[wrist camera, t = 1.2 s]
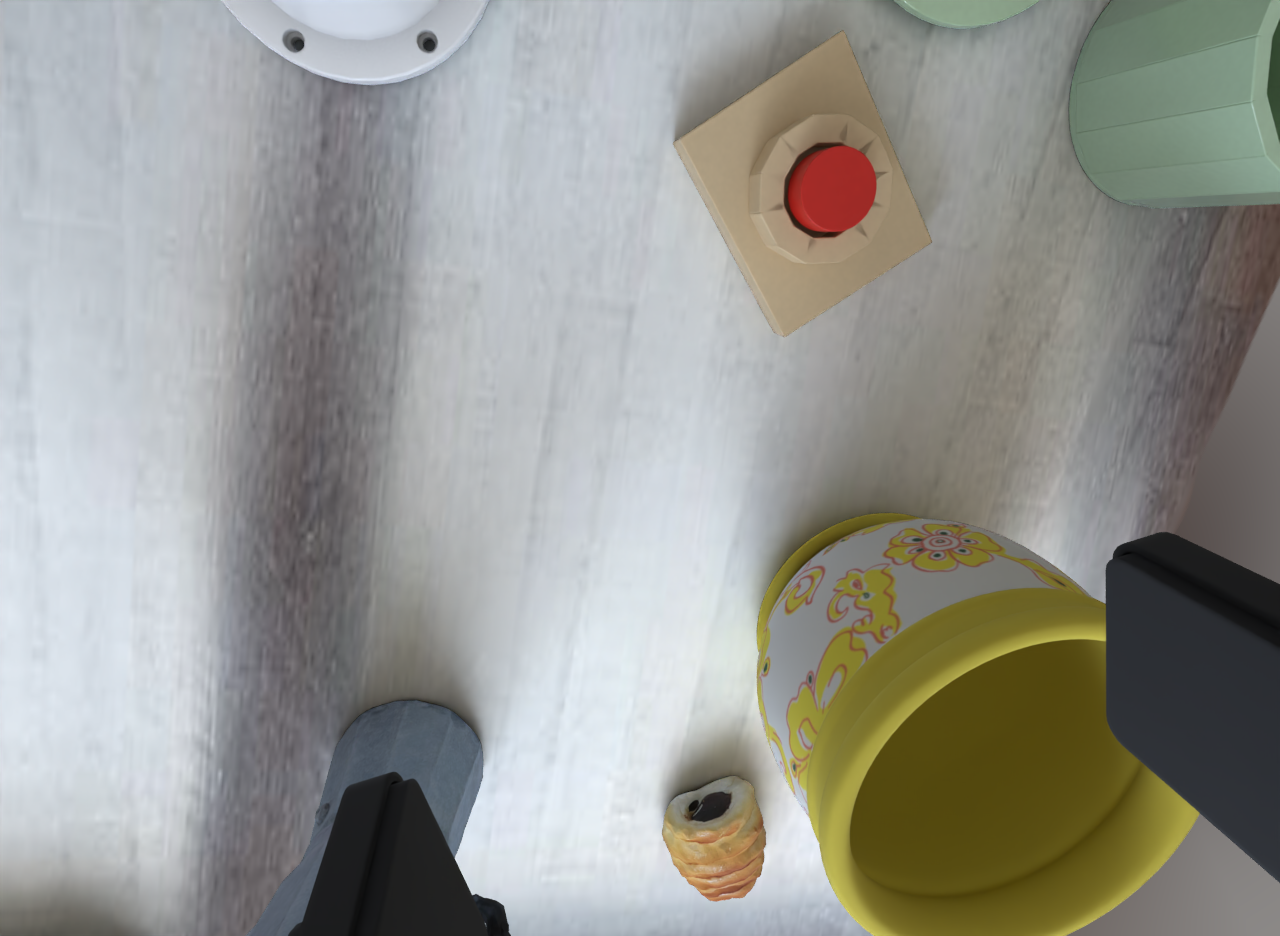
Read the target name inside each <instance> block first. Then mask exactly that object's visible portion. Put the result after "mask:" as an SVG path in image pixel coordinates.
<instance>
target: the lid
mask: <svg viewBox="0 0 1280 936" xmlns="http://www.w3.org/2000/svg"><path fill="white" fill-rule="evenodd" d="M893 1H894V2H896V3H897V4H898V5H899V6H901V7H902V8H903V9H904V10H906V11H907V12H909V13H910V14H912V15H914V16H916V17H917V18H919V19H921V20H923V21H926V22H929V23H931V24H934V25H937V26H942V27H947V28H955V29H971V28H979V27H985V26H988V25H992V24H995V23H999V22H1001V21H1004V20H1006V19H1008V18H1010V17H1012V16H1015V15H1017V14H1019V13H1021V12H1023V11H1024V10H1026V9H1028V8H1029V7H1031V6H1032V5H1034V4H1036V3H1037V2H1038V1H1039V0H893Z"/></svg>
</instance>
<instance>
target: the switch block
mask: <svg viewBox="0 0 1280 936" xmlns="http://www.w3.org/2000/svg"><path fill="white" fill-rule="evenodd" d="M673 145H674V147H675V149H676V150H677V152H678V154H679V156H680V158H681V160H682V162H683V163H684V165H685V167H686V169H687V171H688V173H689V175H690V177H691V178H692V180H693V182H694V184H695V186H696V188H697V190H698V192H699V193H700V195H701V197H702V199H703V201H704V203H705V205H706V207H707V208H708V210H709V212H710V214H711V216H712V218H713V220H714V222H715V223H716V225H717V227H718V229H719V231H720V233H721V235H722V237H723V238H724V240H725V242H726V244H727V246H728V248H729V250H730V252H731V253H732V255H733V257H734V259H735V261H736V263H737V265H738V267H739V268H740V270H741V272H742V274H743V276H744V278H745V280H746V282H747V283H748V285H749V287H750V289H751V291H752V293H753V295H754V296H755V298H756V300H757V302H758V304H759V306H760V308H761V310H762V311H763V313H764V315H765V317H766V319H767V321H768V323H769V325H770V326H771V328H772V330H773V332H774V333H776V334H778V335H781V336H783V337H786V336H787V335H789V334H790V333H792V332H794V331H795V330H797V329H798V328H800V327H801V326H803V325H804V324H806V323H808V322H809V321H811V320H812V319H814V318H815V317H817V316H818V315H820V314H822V313H823V312H825V311H826V310H828V309H829V308H831V307H832V306H834V305H836V304H837V303H839V302H840V301H842V300H843V299H845V298H846V297H848V296H850V295H851V294H853V293H854V292H856V291H857V290H859V289H860V288H862V287H864V286H865V285H867V284H868V283H870V282H871V281H873V280H874V279H876V278H878V277H879V276H881V275H882V274H884V273H885V272H887V271H888V270H890V269H891V268H893V267H895V266H896V265H898V264H899V263H901V262H902V261H904V260H905V259H907V258H909V257H910V256H912V255H913V254H915V253H916V252H918V251H919V250H921V249H923V248H924V247H926V246H927V245H929V244H930V243H932V240H931V238H930V235H929V233H928V231H927V228H926V226H925V223H924V221H923V219H922V216H921V214H920V211H919V209H918V207H917V204H916V202H915V199H914V197H913V195H912V192H911V190H910V187H909V185H908V183H907V180H906V178H905V176H904V173H903V171H902V168H901V166H900V164H899V161H898V159H897V156H896V154H895V152H894V149H893V147H892V144H891V142H890V140H889V137H888V135H887V132H886V130H885V128H884V125H883V123H882V121H881V118H880V116H879V113H878V111H877V109H876V106H875V104H874V101H873V99H872V97H871V94H870V92H869V89H868V87H867V85H866V82H865V80H864V77H863V75H862V73H861V70H860V68H859V66H858V63H857V61H856V58H855V56H854V54H853V51H852V49H851V46H850V44H849V42H848V39H847V37H846V34H845V32H844V30H842V31H840V32H839V33H837V34H836V35H834V36H832V37H831V38H829V39H828V40H826V41H825V42H823V43H822V44H820V45H819V46H817V47H816V48H814V49H813V50H811V51H810V52H808V53H807V54H805V55H804V56H802V57H801V58H799V59H798V60H796V61H795V62H793V63H792V64H790V65H789V66H787V67H786V68H784V69H783V70H781V71H780V72H778V73H777V74H775V75H774V76H772V77H771V78H769V79H768V80H766V81H765V82H763V83H762V84H760V85H759V86H757V87H756V88H754V89H753V90H751V91H750V92H748V93H747V94H745V95H744V96H742V97H741V98H739V99H738V100H736V101H735V102H733V103H732V104H730V105H729V106H727V107H726V108H724V109H723V110H721V111H720V112H718V113H717V114H715V115H714V116H712V117H711V118H709V119H708V120H706V121H705V122H703V123H702V124H700V125H698V126H697V127H695V128H694V129H692V130H691V131H689V132H688V133H686V134H685V135H683V136H682V137H680V138H679V139H677V140H676V141H674V142H673ZM835 146H849V147H852V148H855V149H857V150H859V151H860V152H862V153H863V154H864V155H865V156H866V157H867V158H868V159H869V161H870V162H871V164H872V166H873V168H874V171H875V175H876V182H877V189H876V195H875V199H874V202H873V205H872V207H871V209H870V210H869V212H868V213H867V215H866V216H865V217H864V219H863V220H861V221H860V222H859V223H858V224H857V225H855V226H854V227H852V228H850V229H847V230H844V231H838V232H817V231H813V230H810V229H807V228H806V227H804V226H803V225H801V224H800V223H799V222H798V221H797V220H796V218H795V217H794V216H793V214H792V212H791V209H790V206H789V202H788V186H789V181H790V178H791V176H792V173H793V171H794V170H795V168H796V167H797V165H798V164H799V163H800V162H801V161H802V160H803V159H804V158H805V157H807V156H808V155H810V154H812V153H814V152H816V151H820V150H823V149H827V148H830V147H835Z"/></svg>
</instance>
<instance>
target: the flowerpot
mask: <svg viewBox="0 0 1280 936" xmlns="http://www.w3.org/2000/svg"><path fill="white" fill-rule="evenodd" d="M757 646H758V652H759V656H758V664H757V694H758V703H759V709H760V714H761V719H762V723H763V727H764V730H765V733H766V736H767V739H768V742H769V745H770V748H771V750H772V752H773V755H774V757H775V759H776V762H777V764H778V766H779V768H780V770H781V772H782V774H783V776H784V778H785V780H786V782H787V784H788V785H789V787H790V789H791V791H792V792H793V794H794V796H795V797H796V799H797V801H798V802H799V804H800V805H801V807H802V808H803V810H804V811H805V812H806V814H807V815H808V817H809V818H810V821H811V824H812V827H813V830H814V833H815V835H816V837H817V840H818V842H819V845H820V851H821V857H822V862H823V865H824V868H825V872H826V875H827V877H828V880H829V882H830V884H831V886H832V889H833V890H834V892H835V894H836V896H837V897H838V899H839V901H840V902H841V904H842V905H843V906H844V908H845V909H846V910H847V912H848V913H849V914H850V915H851V916H852V917H853V918H854V919H855V921H856V922H858V923H859V924H860V925H861V926H862V927H863V928H864V929H865V930H867V931H868V932H870V933H871V934H872V935H874V936H1065V935H1068V934H1070V933H1072V932H1074V931H1076V930H1078V929H1080V928H1082V927H1084V926H1085V925H1087V924H1089V923H1091V922H1092V921H1094V920H1096V919H1098V918H1099V917H1101V916H1102V915H1104V914H1105V913H1107V912H1108V911H1110V910H1111V909H1113V908H1114V907H1116V906H1117V905H1119V904H1120V903H1121V902H1123V901H1124V900H1125V899H1126V898H1128V897H1129V896H1130V895H1131V894H1133V893H1134V892H1135V891H1136V890H1137V889H1139V888H1140V887H1141V886H1142V885H1143V884H1144V883H1145V882H1147V881H1148V880H1149V879H1150V878H1151V877H1152V876H1153V875H1154V874H1155V873H1156V872H1157V871H1158V870H1159V869H1160V868H1161V867H1162V865H1163V864H1164V863H1165V862H1166V861H1167V860H1168V859H1169V858H1170V856H1171V855H1172V854H1173V853H1174V852H1175V850H1176V849H1177V848H1178V846H1179V845H1180V844H1181V842H1182V841H1183V840H1184V838H1185V837H1186V835H1187V834H1188V832H1189V831H1190V829H1191V828H1192V826H1193V824H1194V823H1195V821H1196V819H1197V817H1198V815H1199V814H1200V813H1199V812H1198V811H1197V810H1196V809H1195V808H1193V807H1192V806H1191V805H1190V804H1189V803H1188V802H1186V801H1185V800H1184V799H1183V798H1182V797H1181V796H1180V795H1178V794H1177V793H1176V792H1175V791H1174V790H1173V789H1172V788H1170V787H1169V786H1168V785H1167V784H1166V783H1165V782H1164V781H1162V780H1161V779H1160V778H1159V777H1158V776H1157V775H1156V774H1154V773H1153V772H1152V771H1151V770H1150V769H1149V768H1147V767H1146V766H1145V765H1144V764H1143V763H1142V762H1141V761H1139V760H1138V759H1137V758H1136V757H1135V756H1134V755H1133V754H1131V753H1130V752H1129V751H1128V750H1127V749H1126V748H1125V747H1123V746H1122V745H1121V744H1120V743H1119V741H1118V740H1117V739H1116V738H1115V736H1114V735H1113V733H1112V731H1111V729H1110V728H1109V725H1108V722H1107V717H1106V604H1105V603H1103V602H1101V601H1098V600H1096V599H1094V598H1093V597H1091V596H1090V595H1089V594H1088V593H1087V592H1086V591H1085V590H1084V589H1083V588H1082V587H1081V586H1079V585H1078V584H1077V583H1076V582H1075V581H1073V580H1072V579H1071V578H1070V577H1068V576H1067V575H1066V574H1064V573H1063V572H1062V571H1061V570H1059V569H1058V568H1057V567H1055V566H1054V565H1052V564H1051V563H1049V562H1048V561H1046V560H1045V559H1043V558H1042V557H1040V556H1038V555H1037V554H1035V553H1034V552H1032V551H1030V550H1029V549H1027V548H1025V547H1024V546H1022V545H1020V544H1018V543H1016V542H1014V541H1012V540H1010V539H1008V538H1006V537H1003V536H1001V535H999V534H996V533H993V532H991V531H988V530H985V529H982V528H979V527H975V526H971V525H968V524H963V523H958V522H953V521H945V520H935V519H921V518H918V517H915V516H911V515H906V514H898V513H876V514H869V515H863V516H859V517H855V518H852V519H848V520H846V521H843V522H840V523H838V524H836V525H833V526H831V527H829V528H827V529H826V530H824V531H822V532H820V533H819V534H817V535H815V536H814V537H813V538H811V539H810V540H808V541H807V542H806V543H805V544H803V545H802V546H801V547H800V548H799V549H798V550H796V551H795V552H794V553H793V554H792V555H791V556H790V558H789V559H788V560H787V561H786V562H785V563H784V564H783V566H782V567H781V568H780V570H779V571H778V572H777V574H776V575H775V577H774V579H773V580H772V582H771V584H770V586H769V588H768V590H767V592H766V594H765V596H764V599H763V602H762V605H761V608H760V612H759V616H758V623H757Z"/></svg>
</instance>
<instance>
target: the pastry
mask: <svg viewBox="0 0 1280 936" xmlns="http://www.w3.org/2000/svg"><path fill="white" fill-rule="evenodd" d="M765 835H766V832H765V829H764V826H763V818H762V814H761V812H760V809H759V807H758V805H757V802H756V800H755V796H754V787H753V786H752V785H751V784H750V783H749V782H747V781H745V780H742V779H741V778H739V777H737V776H728V777H725V778H722V779H719V780H716V781H714V782H712V783H710V784H708V785H706V786H704V787H702V788H700V789H698V790H696V791H691V792H687V793H684V794H680V795H678V796H677V797H675V798H674V799H673V800H672V802H671V803H670V804H669V806H668V808H667V810H666V813H665V816H664V823H663V830H662V836H663V839H664V841H665V843H666V845H667V848H668V850H669V852H670V854H671V857H672V861H673V864H674V865H675V866H676V867H677V868H678V870H679V872H680V874H681V875H682V876H683V877H685V878H686V879H687V881H688V883H689V884H690V885H693V886H695V888H696V889H697V890H698V891H699V892H700V893H701V894H702V895H703V896H705V897H706V898H707V899H709V900H710V901H720V900H728V899H731V898H743V897H745V895H746V894H747V893H748V892H749V891H750V890H751V889H752V888H753V886H754V884H755V882H756V879H757V878H758V877H760V875H761V871H762V864H763V862H764V852H763V849H764V847H765V845H766V836H765Z"/></svg>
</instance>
